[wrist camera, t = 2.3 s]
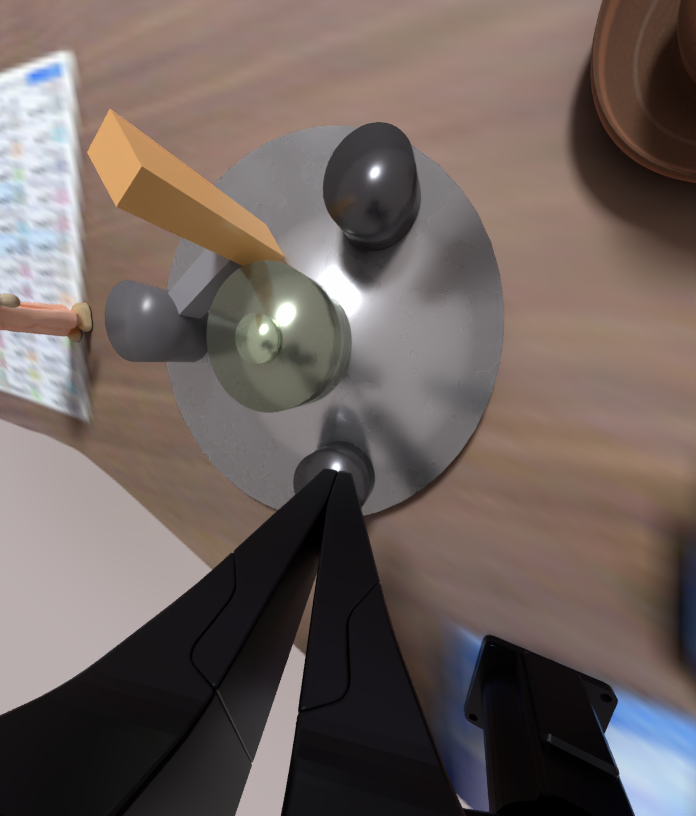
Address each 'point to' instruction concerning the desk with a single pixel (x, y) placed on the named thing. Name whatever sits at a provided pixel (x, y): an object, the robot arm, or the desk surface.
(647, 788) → the desk surface
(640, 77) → the cup and saucer
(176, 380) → the levelling plate
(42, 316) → the grandmother figurine
